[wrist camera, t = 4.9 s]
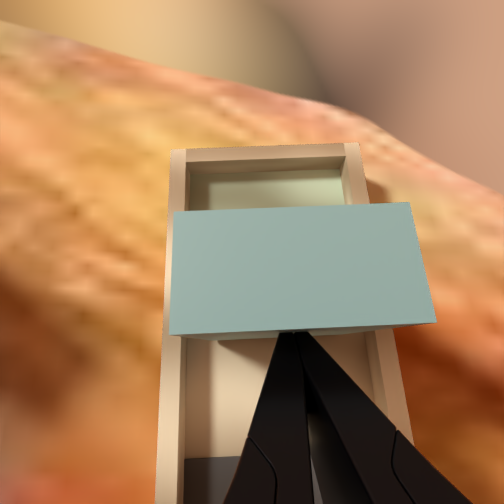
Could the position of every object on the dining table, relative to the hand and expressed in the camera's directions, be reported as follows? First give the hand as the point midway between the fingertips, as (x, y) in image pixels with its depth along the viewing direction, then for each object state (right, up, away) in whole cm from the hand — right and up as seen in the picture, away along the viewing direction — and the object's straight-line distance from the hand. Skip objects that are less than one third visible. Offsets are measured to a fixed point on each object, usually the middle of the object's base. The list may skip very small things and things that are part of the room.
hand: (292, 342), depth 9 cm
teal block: (0, 0, +6) cm, 6 cm away
